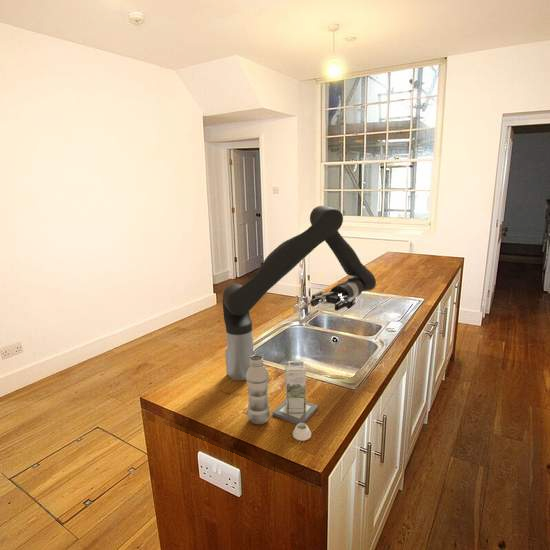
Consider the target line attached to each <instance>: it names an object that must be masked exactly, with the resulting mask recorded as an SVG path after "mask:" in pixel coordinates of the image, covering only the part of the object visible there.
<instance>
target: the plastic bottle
mask: <svg viewBox="0 0 550 550" xmlns="http://www.w3.org/2000/svg"><path fill="white" fill-rule="evenodd" d="M253 355H254V356H251V357H250V365H251V366H250V368H249V369H248V371H247V373H246V380H245V381H246V385H247V389H248V390H247V391H248V405H247V412H246V413H247V419H248V420H249V422H250V423H251V424H254V425H263V424H265V423H267V422H268V420H269V419H270V416H271V409H270V404H269V399H268V398H269V397H268V389H269V380H270V379H269V378H270V374H269V371H268V369H267V368H266V367H265V366H264V364H265V363H264V357H263V356H262V355H259V354H256V355H255V354H253Z"/></svg>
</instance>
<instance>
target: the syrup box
mask: <svg viewBox="0 0 550 550" xmlns="http://www.w3.org/2000/svg"><path fill="white" fill-rule="evenodd" d="M284 375H285V376H284V378H285V379H284V380H285V401H286V408H287V414H290V413H306V402H307V399H306V398H307V393H306V392H307V389H306V388H307V385H306V383H307V379H306V378H307V377H306V376H307V372H306V367H305V361H304V360H292V361H291V360H289V361H288V360H287V361H285V362H284Z"/></svg>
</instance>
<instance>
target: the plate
mask: <svg viewBox="0 0 550 550" xmlns="http://www.w3.org/2000/svg"><path fill="white" fill-rule="evenodd" d="M318 409H319V405H318V404H315V403H311V402H308V401H306V413H290V414H287V408H286V400H284V401H283V402H282V403H281V404H280V405H279V406H277V408H275V409H274V410H273V411H272V416H273V417H277V418H279V419H281V420H285V421H287V422H289V423H291V424H295V425H297V424H299V423H304V424H306V422H307V421H308V420H309V419H310V418H311V417H312V416H313V415H314V414H315V413H316V412H317V410H318Z"/></svg>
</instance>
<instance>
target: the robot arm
mask: <svg viewBox="0 0 550 550" xmlns="http://www.w3.org/2000/svg"><path fill="white" fill-rule="evenodd" d="M343 222H344V215H343V213H342V211H341V210H339V209H337V208H334V207H333V206H332V207H331V206H327V205H317V206H315V207H314V208H313V209H312V210H311V212H310V214H309V223H310V224H311V226H309V227H308V228H307V229H306V230H304V231H303V232H302V233H299V234H297V235H295V236H293V237H291V238H289V239H286V240H285V241H283V242H282V243H280V244H279V245H278V246H277V247H276V248H274V249H273V250H272V251H271V252H270V253H269V254H268V255H267V256H266V258H265V259H264V260H263V262H262V264H260V267H259V268H258V270H257V272H256V273H255V274H254V275H253V276H252V277H251V278H250V279H249V280H248V281H247V282H245V283H244V284H243V285H241V284H239V283H234V284H233V283H232V284H230V285H228V286H227V287H226V288H225V289H224V291H223V292H222V293H223V294H222V311H223V321H224V324H225V334H226V335H225V336H226V350H225V351H224V352H225V354H224V355H225V367H226V375H227V376H229V379H231V380H234V381H247V380H246V373H247V371H248V369H249V368H250V366H251V365H250V357H251V356H254V355H255V354H254V338H253V336H254V335H253V323H252V319H251V316H250V311H251V310H252V309H253V308H254V307H255V305H256V304H257V303H258V302H259V301H260V300H261V299H262V298H263V297H264V296H265V294H267V292H268V291H269V290H270V289H272V288H273V286H275V285H277V283H279V281H281V280H282V279H284V277H285V276H286V275H288V273H290V272H291V271H292V270H293V269H294V268H295V267H296V266H297V265H298V264H299V263H300V262H301V261H303V260H304V259H305V258H306V257H307V256H308V255H309V254H311V252H312V251H314V250H315V249H316V248H317V247H318V246H320V245H321V244H322V243H323V242H325V243H326V244H327V245H328V247H329V248H330V250H331V251H332V253H333V255H335V258H336V259H337V261H338V263H339V264H340V266H341V268H342V269H343V271H344V273H346V275H347V276H349V277H348V279H347V280H346V281H342V282H340V283H339V284H337V285H335V286H333V287H332V288H331V289H330V291H329V292H328V293H323V291H322V290H321V291H317V292H316V293H313V294H312V295H311V300H310V306H311V307H315V306H317V305H319V304H322V305H327V304H328V305H329V304H330V305H332V304H333V305H334V311H336V312H337V311H340V310H341V309H345V308H346V309H348V310H349V309H351V308H352V307H354V306H355V305H356V298H357V297H358V296H360V295H361V294H362V292H367V291H372V290H374V289H375V288H376V285H377V280H376V277H375V275H374V273H372V272H371V271H370V270H369V269H368V267H366V266H365V265H364V264H363V263H362V262H361V260H360V258H359V257H358V255H357V253H356V251H355V250H354V248H353V247H352V246H351V245H350V244H349V243H348V242H347V240H346V239H344V237H343V236H342V235H341V234H340V231H339V230H340V229H341V227H342V225H343Z"/></svg>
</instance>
